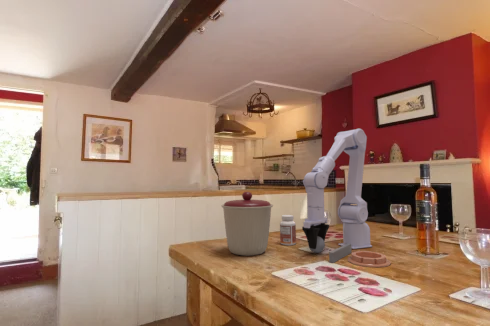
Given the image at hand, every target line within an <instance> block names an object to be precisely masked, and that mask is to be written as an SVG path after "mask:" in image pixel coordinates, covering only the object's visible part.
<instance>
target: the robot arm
mask: <svg viewBox="0 0 490 326" xmlns="http://www.w3.org/2000/svg"><path fill="white" fill-rule="evenodd" d="M367 139H368V136H367V135H366V133H365V130H363V129H362V128H356V129H349V130H345V131H339V132H337V133H336V136H334V139H333V140H334V142H333V144H332V146H331V148H330V149H329V150H328V152H327V153H326V155H324V156H322V157H321V156H320V157H318V161H317V162H316V164H315V165H314V167H312V169H311V172H307V173H306V174H305V175H304V177H303V180H302V183H303V186H304V187H305V193H306V209H307V217H306V218H304V221H303V222H302V223H303V226H301V227H302V231H303V233H304V235H305V238H306V241H307V244H308V248H309V249H310V248H312V249H316V246H317V236H319V237H321V238H322V239H323V240H324V242H325V241H326V237H327V236H326V235H327V233H328V230H329V228H330V224H328V217H325V187H327V185H328V181H329V180H328V179H329V176H330V174H331V173H332V171H333V170H334V168H335V167H336V162H335V161H336V160H337V159H338V158H339V156H340V155H341V154H342V153H343V152H344V153H345V154H347V155H348V156H349V160H348V161H349V163H348V173H347V182H346V183H347V184H346V193H345V196H344V197H343V198H342V199H340V203H339V206H338V207H337V216H338V218H339V219H340V221H341V222H342V241H343V242H341V243H338V244H337V245H338V246H340V247H341V246H343V245H346V244H348V243H349V244H351V248H352V249H353V250H355V249H356V250H357V249H364V248H373V245H372V244H371V228H370V226H369V224H368V223H366V221H367V219H368V216H369V212H368V202H367V201H365V200H364V199H363V198H362V187H363V178H364V177H363V176H364V168H365V158H366V157H365V156H366V149H367V141H368V140H367Z"/></svg>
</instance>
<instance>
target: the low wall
mask: <svg viewBox="0 0 490 326" xmlns="http://www.w3.org/2000/svg"><path fill="white" fill-rule="evenodd" d="M352 252H353V251H352V248H351V244H349V243H348V244H346V245H343V246H341V245H340V247H338V248H335V249H334V250H331V251H329V252H328V261H329V262H328V263H331V264H334V263H336V262H338V261H339V260H341V259H343V258H345V257H346V256H348V255H350V254H352Z"/></svg>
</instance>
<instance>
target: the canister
mask: <svg viewBox="0 0 490 326" xmlns="http://www.w3.org/2000/svg"><path fill="white" fill-rule="evenodd" d="M241 198H242V199H233V200H227V201H226V202H224V204H222V205H221V208H222V209H223V218H224V226H225V235H226V243H227V248H228V250H229V252H230V253H232V254H234V255H236V256H243V257H244V256H247V257H248V256H249V257H251V256H257V255H261V254H264V252H266V250H267V247H268V242H269V235H270V228H271V227H270V226H271V214H272V208H273V206H274V204H271V203H270V202H269V201H267V200H262V199H252V198H253V194H252V192H250V191H244V192H243V193H242V194H241Z"/></svg>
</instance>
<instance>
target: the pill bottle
mask: <svg viewBox="0 0 490 326" xmlns="http://www.w3.org/2000/svg"><path fill="white" fill-rule="evenodd" d="M294 219H295V217H294V215H293V214H292V215H291V214H282V215H281V221H280V222H279V232H280V233H279V239H280V240H279V241H280V245H283V246H294V245H296V244H297V228H296V227H297V226H296V222H295V221H294Z"/></svg>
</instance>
